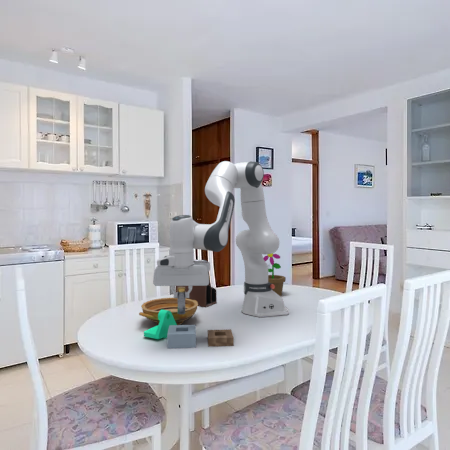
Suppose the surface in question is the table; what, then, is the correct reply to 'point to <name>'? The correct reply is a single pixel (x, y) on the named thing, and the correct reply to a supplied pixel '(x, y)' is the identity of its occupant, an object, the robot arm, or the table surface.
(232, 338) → the pin mount
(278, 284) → the flowerpot
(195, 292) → the letter holder
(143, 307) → the ceramic bowl
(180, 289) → the lock pin
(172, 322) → the camera mount
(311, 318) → the table surface
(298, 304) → the table surface
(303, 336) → the table surface
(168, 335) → the dock
